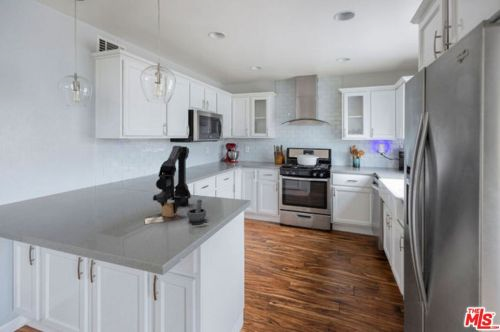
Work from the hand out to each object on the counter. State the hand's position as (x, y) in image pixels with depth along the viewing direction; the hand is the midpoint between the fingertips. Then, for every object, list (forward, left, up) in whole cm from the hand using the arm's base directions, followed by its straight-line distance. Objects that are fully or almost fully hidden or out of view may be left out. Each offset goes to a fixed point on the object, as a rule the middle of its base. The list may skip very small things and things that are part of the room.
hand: (170, 213), depth 145 cm
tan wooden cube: (0, 0, -1) cm, 1 cm away
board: (+5, +3, -3) cm, 7 cm away
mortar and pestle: (-12, +15, -3) cm, 19 cm away
